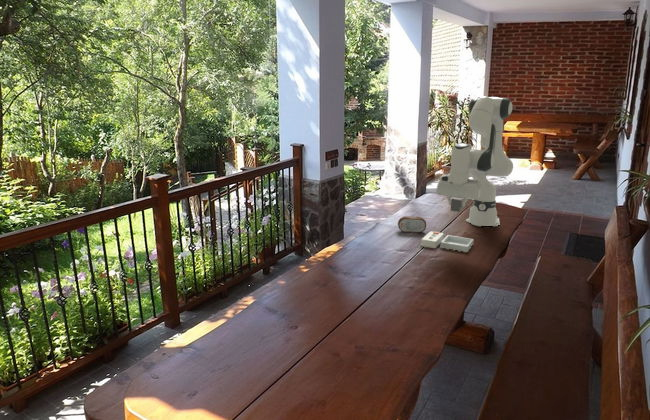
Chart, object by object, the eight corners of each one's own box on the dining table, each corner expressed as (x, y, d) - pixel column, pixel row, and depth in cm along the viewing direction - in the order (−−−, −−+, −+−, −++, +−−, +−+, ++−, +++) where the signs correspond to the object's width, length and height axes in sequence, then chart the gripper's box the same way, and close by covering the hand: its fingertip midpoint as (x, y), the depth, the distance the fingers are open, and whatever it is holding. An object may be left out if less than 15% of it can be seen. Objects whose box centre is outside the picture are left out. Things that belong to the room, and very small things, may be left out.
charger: (452, 211, 241) (453, 197, 240) (461, 212, 239) (462, 198, 237) (450, 213, 238) (451, 199, 236) (459, 214, 236) (460, 200, 234)
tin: (425, 231, 265) (426, 216, 263) (426, 233, 262) (427, 218, 260) (397, 230, 266) (398, 215, 264) (397, 232, 263) (398, 217, 261)
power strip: (433, 234, 260) (433, 227, 259) (446, 236, 257) (447, 229, 256) (421, 245, 242) (421, 238, 241) (435, 248, 239) (435, 240, 238)
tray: (447, 240, 251) (447, 235, 250) (473, 244, 245) (473, 239, 244) (440, 247, 240) (440, 242, 239) (467, 252, 234) (467, 246, 233)
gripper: (482, 179, 232) (480, 207, 235) (440, 174, 241) (438, 201, 245) (479, 181, 226) (477, 210, 230) (436, 176, 236) (434, 204, 240)
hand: (456, 205), depth 238 cm, fingers closed on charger, 4 cm apart
